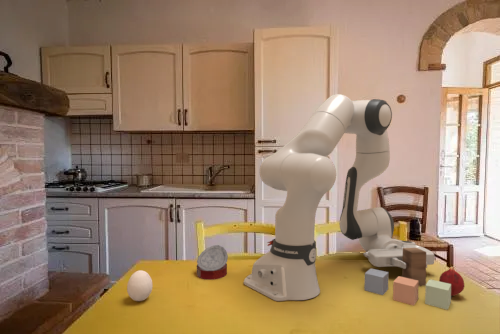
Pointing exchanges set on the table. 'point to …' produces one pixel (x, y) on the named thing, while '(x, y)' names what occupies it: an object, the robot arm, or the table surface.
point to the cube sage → (438, 294)
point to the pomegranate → (453, 281)
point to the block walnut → (415, 265)
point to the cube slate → (376, 281)
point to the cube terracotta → (405, 290)
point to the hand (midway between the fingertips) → (415, 265)
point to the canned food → (212, 263)
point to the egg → (139, 285)
